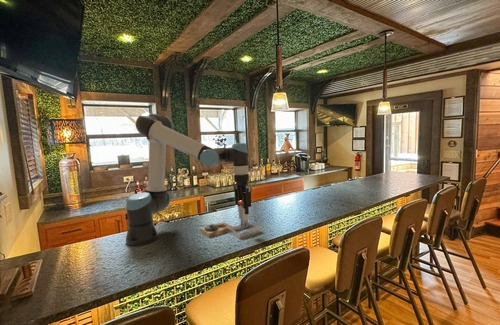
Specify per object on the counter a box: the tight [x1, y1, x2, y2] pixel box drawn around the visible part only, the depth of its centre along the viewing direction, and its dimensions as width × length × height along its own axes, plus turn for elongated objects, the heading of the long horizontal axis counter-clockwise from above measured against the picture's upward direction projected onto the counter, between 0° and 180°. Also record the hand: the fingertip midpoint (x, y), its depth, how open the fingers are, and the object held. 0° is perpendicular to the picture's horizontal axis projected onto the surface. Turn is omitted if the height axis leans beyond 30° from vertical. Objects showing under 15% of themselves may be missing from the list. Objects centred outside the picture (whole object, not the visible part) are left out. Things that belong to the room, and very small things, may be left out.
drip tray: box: [227, 222, 262, 240], centre depth 129 cm, size 13×11×3 cm
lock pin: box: [238, 199, 249, 228], centre depth 128 cm, size 5×5×14 cm
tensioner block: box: [199, 222, 233, 238], centre depth 132 cm, size 14×10×5 cm
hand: (243, 218), depth 128 cm, fingers closed on lock pin, 4 cm apart
